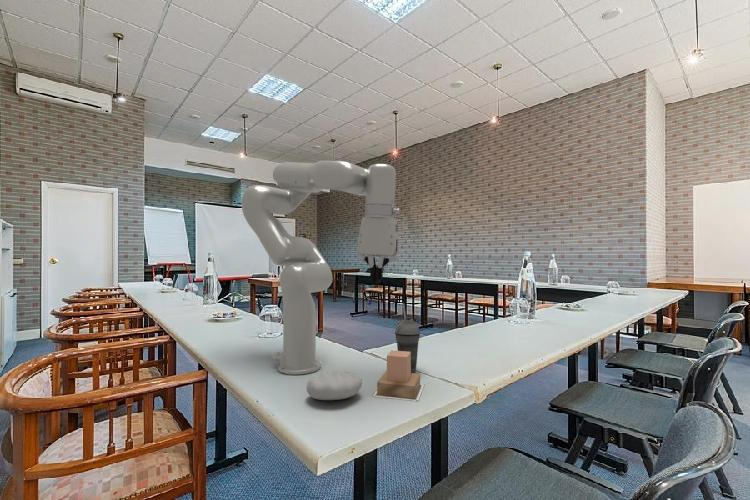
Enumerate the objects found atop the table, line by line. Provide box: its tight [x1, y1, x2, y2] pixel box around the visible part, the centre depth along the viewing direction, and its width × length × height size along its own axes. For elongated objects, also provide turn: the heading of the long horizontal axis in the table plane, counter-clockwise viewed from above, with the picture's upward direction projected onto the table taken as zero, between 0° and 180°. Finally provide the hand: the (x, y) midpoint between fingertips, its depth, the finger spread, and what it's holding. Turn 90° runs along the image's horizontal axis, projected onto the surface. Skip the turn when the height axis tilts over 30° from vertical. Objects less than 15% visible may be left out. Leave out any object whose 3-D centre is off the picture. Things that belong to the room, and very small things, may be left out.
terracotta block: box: [386, 349, 411, 382], centre depth 88 cm, size 5×5×6 cm
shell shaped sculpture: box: [306, 370, 363, 401], centre depth 83 cm, size 13×13×6 cm
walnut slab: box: [376, 370, 421, 399], centre depth 88 cm, size 9×9×3 cm
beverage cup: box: [394, 303, 421, 373], centre depth 102 cm, size 7×7×20 cm
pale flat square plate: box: [371, 383, 425, 403], centre depth 88 cm, size 11×11×1 cm
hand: (376, 282), depth 93 cm, fingers closed
